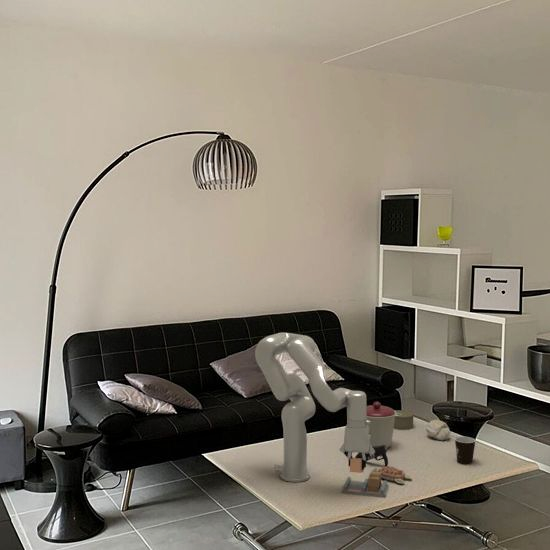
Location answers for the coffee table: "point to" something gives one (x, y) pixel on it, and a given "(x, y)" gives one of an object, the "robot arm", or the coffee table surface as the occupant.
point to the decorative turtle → (392, 474)
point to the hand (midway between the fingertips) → (357, 468)
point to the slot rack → (363, 488)
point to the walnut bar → (374, 481)
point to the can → (403, 420)
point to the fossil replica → (438, 430)
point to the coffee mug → (464, 450)
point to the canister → (380, 424)
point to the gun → (376, 454)
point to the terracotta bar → (356, 465)
